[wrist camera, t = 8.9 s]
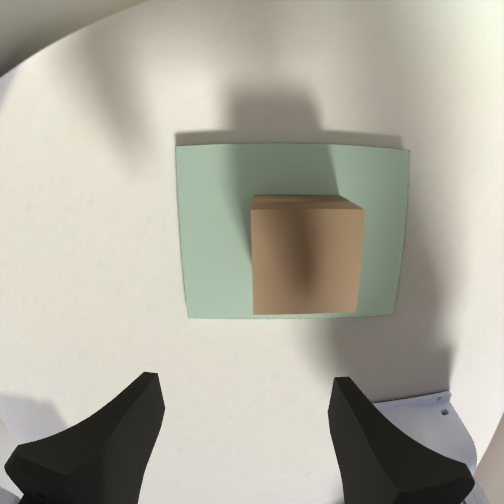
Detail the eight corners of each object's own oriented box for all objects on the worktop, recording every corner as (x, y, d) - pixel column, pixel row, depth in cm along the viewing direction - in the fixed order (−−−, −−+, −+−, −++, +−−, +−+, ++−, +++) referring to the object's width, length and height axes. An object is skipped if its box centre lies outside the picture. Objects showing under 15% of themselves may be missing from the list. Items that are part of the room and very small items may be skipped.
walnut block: (339, 194, 18) (364, 209, 14) (335, 274, 20) (355, 312, 15) (253, 194, 19) (250, 209, 14) (255, 276, 20) (253, 314, 15)
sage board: (404, 150, 18) (409, 150, 17) (389, 309, 21) (393, 314, 21) (179, 146, 19) (175, 146, 18) (190, 312, 22) (187, 318, 21)
